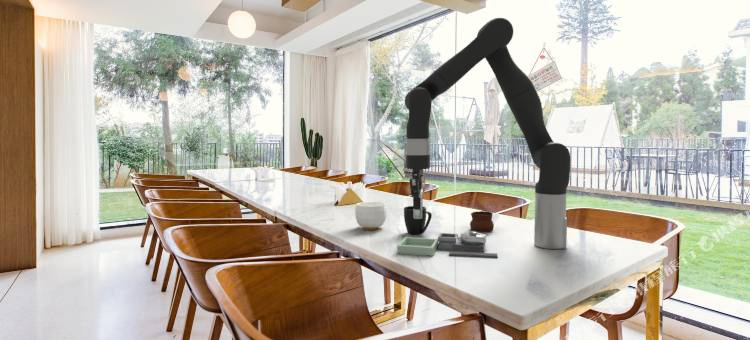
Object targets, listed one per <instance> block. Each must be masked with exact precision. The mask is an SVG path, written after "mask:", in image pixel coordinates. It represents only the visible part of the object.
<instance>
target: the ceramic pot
mask: <svg viewBox="0 0 750 340" xmlns="http://www.w3.org/2000/svg"><path fill="white" fill-rule="evenodd" d="M470 216H471V220H470V222H469V226H470V227H469V228H470V230H471V231H475V232H476V231H477V233H489V232H492V231H493V230H494V227H495V226H494V225H495V224H494V222H493V220H492V219H493V212H491V211H486V210H485V211H483V210H481V211H479V210H477V211H473V212H471V213H470Z"/></svg>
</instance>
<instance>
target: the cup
mask: <svg viewBox="0 0 750 340" xmlns="http://www.w3.org/2000/svg"><path fill="white" fill-rule="evenodd" d="M386 207H387V206H386V204H385V202H382V201H362V202H357V203H356V204H355V210H354V211H355V212H354V213H355V214H354V216H355V219H356V223H357V225H359V227H361V228H363V230H368V231H372V230H373V231H374V230H378V229H379V227H382V226H383V225H384V223H385V222H386V219H387V208H386Z"/></svg>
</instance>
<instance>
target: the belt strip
mask: <svg viewBox="0 0 750 340" xmlns="http://www.w3.org/2000/svg"><path fill="white" fill-rule="evenodd" d="M448 251H449V252H448V254H449V255H448V256H449V257H467V256H468V257H471V258H475V257H476V258H489V259H490V258H491V259H494V258H495V259H497V258H498V253H494V252H492V253H491V252H484V253H482V252H467V251H451V250H448Z"/></svg>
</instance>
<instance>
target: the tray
mask: <svg viewBox="0 0 750 340" xmlns="http://www.w3.org/2000/svg"><path fill="white" fill-rule="evenodd" d="M438 243H439V242H438V238H429V237H428V238H425V237H413V236H412V237H411V236H409V237H408V236H405V237H404V238H403V239H402V240H401V241H400V242H399V243H398V244H397V246H396V247H397V248H396V253H398V255H409V254H410V255H413V256H424V257H425V255H430V256H429V257H433V256H434V255H435V254H436V252H435V251H437V250H438ZM399 253H400V254H399ZM410 255H409V256H410Z"/></svg>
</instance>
